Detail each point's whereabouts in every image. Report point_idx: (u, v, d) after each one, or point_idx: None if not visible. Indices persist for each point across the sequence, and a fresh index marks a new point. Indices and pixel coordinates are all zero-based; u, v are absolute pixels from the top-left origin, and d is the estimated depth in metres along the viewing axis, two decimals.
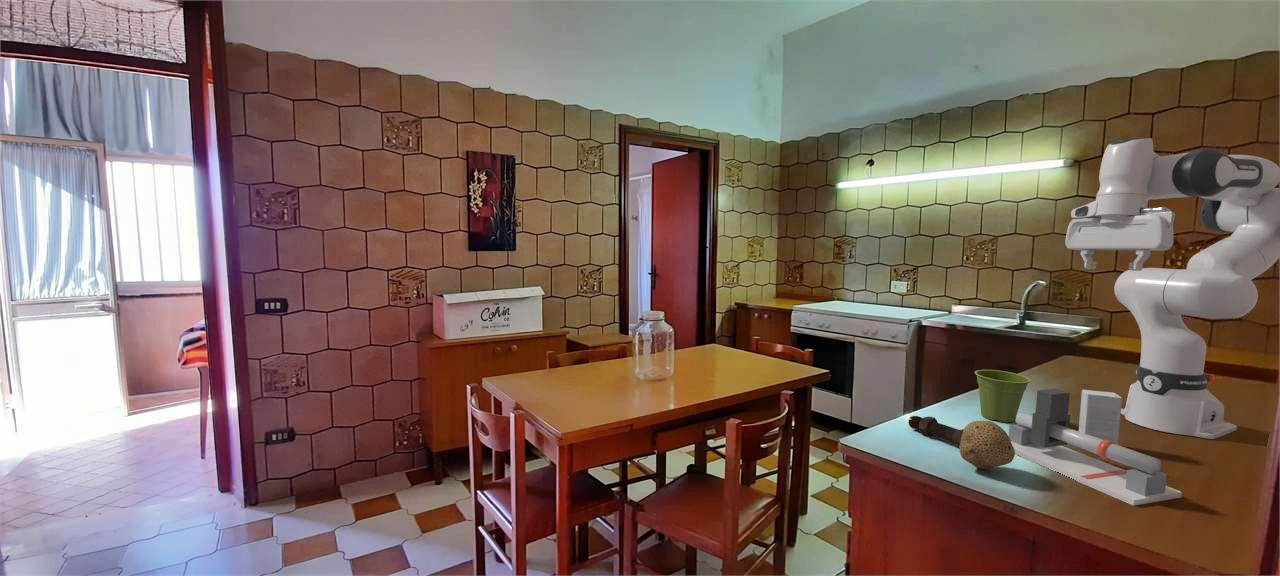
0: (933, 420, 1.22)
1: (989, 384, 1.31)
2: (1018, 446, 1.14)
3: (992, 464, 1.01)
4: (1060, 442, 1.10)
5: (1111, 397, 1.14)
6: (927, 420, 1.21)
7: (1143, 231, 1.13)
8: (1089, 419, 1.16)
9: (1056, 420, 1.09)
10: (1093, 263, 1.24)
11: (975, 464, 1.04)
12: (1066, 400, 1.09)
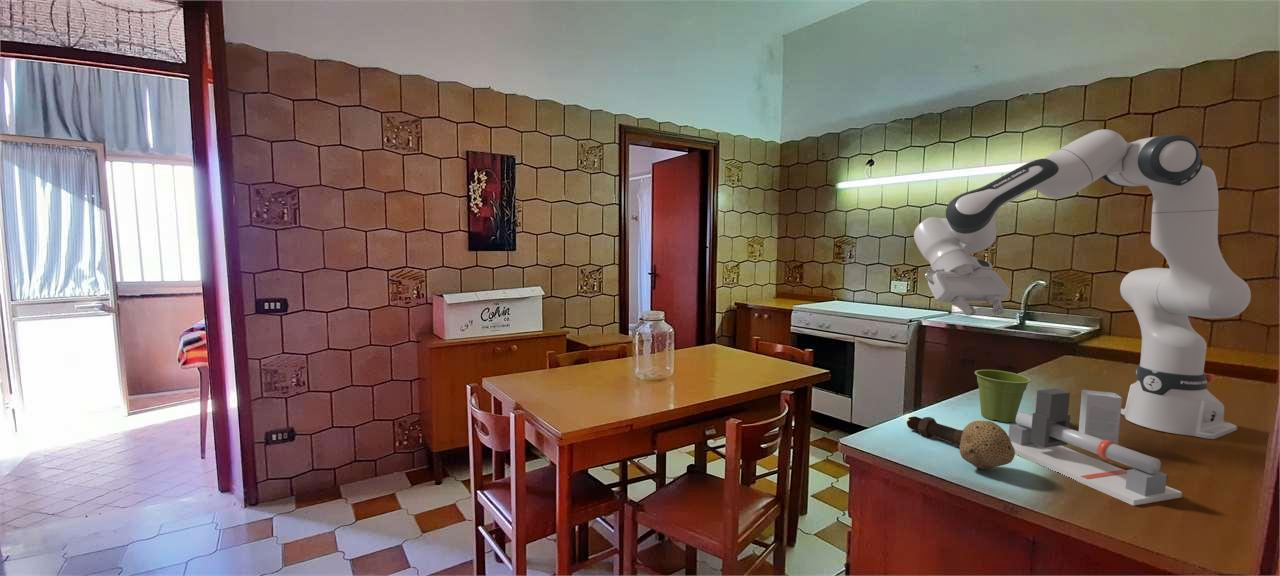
0: (932, 420, 1.21)
1: (989, 384, 1.31)
2: (1018, 446, 1.14)
3: (992, 464, 1.01)
4: (1060, 442, 1.10)
5: (1111, 397, 1.14)
6: (926, 421, 1.21)
7: None
8: (1089, 419, 1.16)
9: (1056, 420, 1.09)
10: (994, 309, 1.27)
11: (975, 464, 1.04)
12: (1066, 400, 1.09)
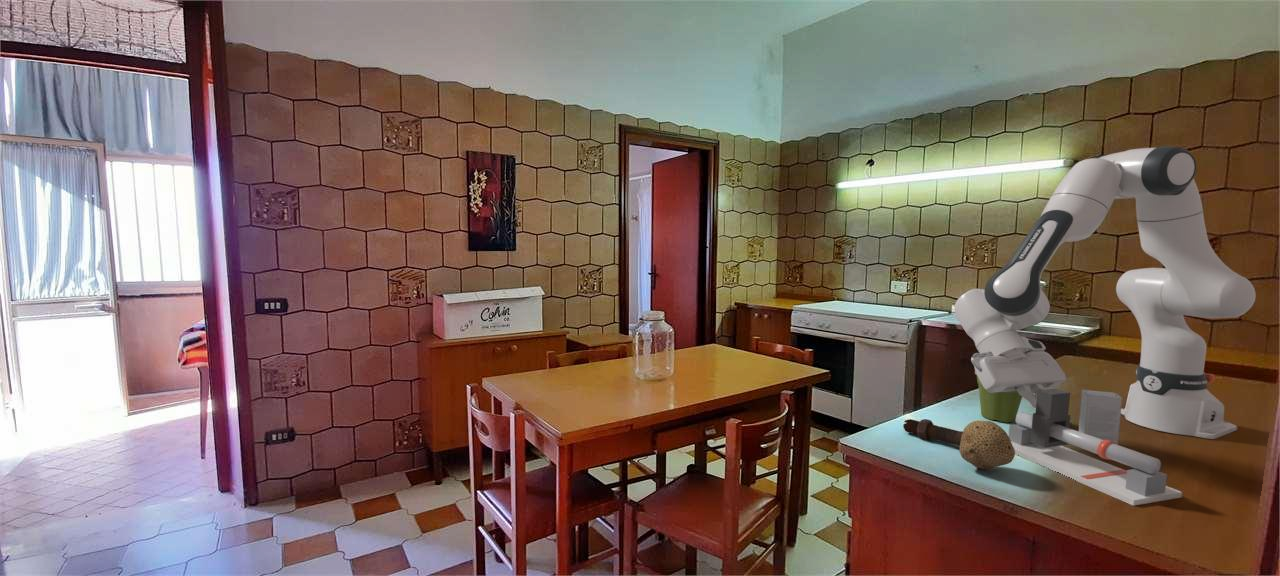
0: (930, 423, 1.20)
1: None
2: (1018, 446, 1.14)
3: (992, 464, 1.01)
4: (1060, 442, 1.10)
5: (1111, 397, 1.14)
6: (925, 423, 1.19)
7: None
8: (1089, 419, 1.16)
9: (1056, 420, 1.09)
10: None
11: (975, 464, 1.04)
12: (1066, 400, 1.09)
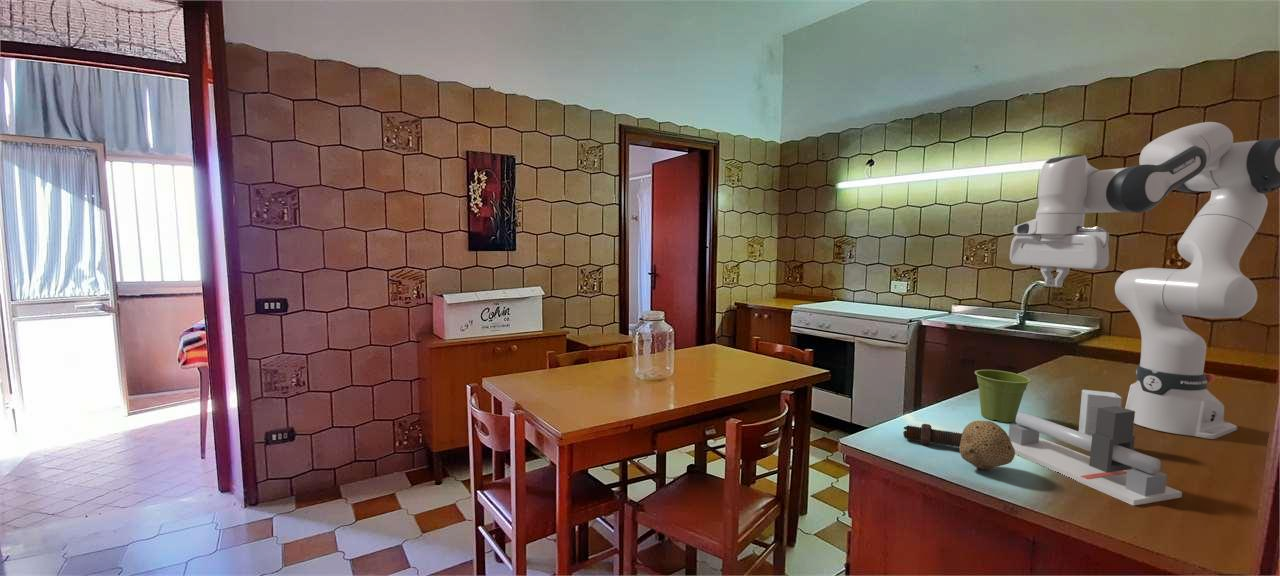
0: None
1: (989, 384, 1.31)
2: (1018, 446, 1.14)
3: (992, 464, 1.01)
4: (1124, 466, 0.99)
5: (1111, 397, 1.14)
6: (929, 429, 1.16)
7: (1081, 251, 1.14)
8: (1089, 419, 1.16)
9: (1120, 442, 0.98)
10: None
11: (975, 464, 1.04)
12: (1131, 419, 0.98)
